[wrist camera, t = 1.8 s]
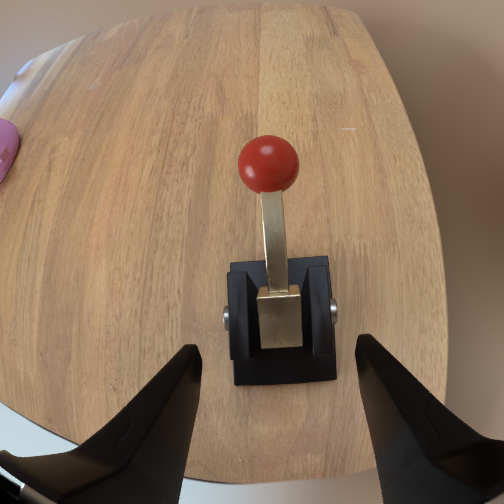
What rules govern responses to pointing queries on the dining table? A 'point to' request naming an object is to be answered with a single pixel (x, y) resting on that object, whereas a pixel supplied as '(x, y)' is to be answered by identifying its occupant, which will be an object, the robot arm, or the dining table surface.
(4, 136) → the teapot
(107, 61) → the dining table surface
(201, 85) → the dining table surface
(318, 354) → the switch bracket
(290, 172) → the lever
